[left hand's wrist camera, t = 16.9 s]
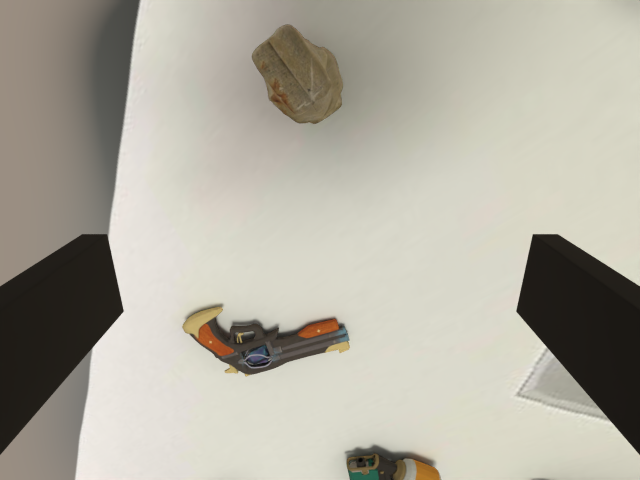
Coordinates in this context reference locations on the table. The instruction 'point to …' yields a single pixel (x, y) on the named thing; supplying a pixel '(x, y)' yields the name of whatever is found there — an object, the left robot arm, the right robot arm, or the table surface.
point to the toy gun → (263, 342)
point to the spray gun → (389, 469)
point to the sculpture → (299, 76)
